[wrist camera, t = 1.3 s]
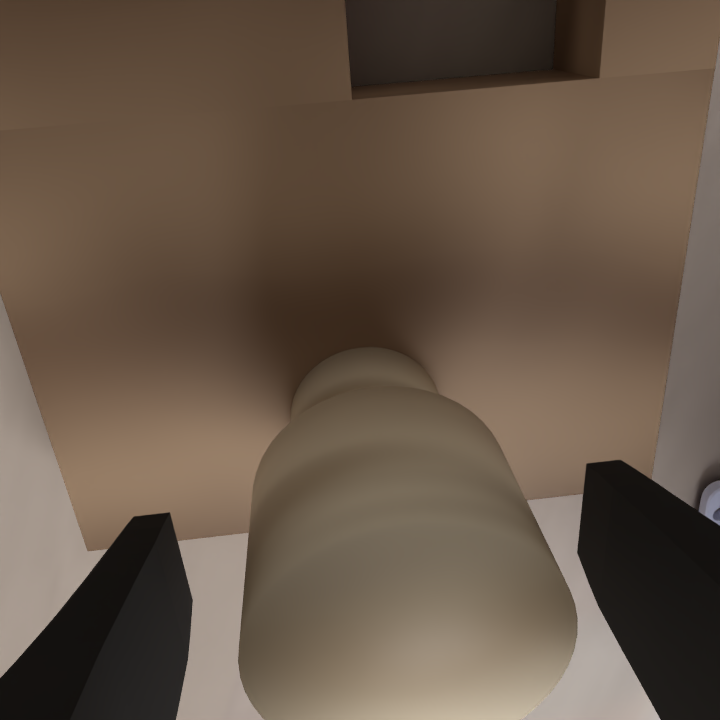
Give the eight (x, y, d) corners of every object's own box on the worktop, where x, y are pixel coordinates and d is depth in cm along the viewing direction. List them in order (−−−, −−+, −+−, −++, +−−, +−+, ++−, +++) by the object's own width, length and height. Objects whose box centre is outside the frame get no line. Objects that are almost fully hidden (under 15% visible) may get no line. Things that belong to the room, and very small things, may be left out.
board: (608, 431, 19) (745, 609, 13) (112, 487, 19) (30, 699, 13) (737, -690, 10) (1336, -1644, 4) (-232, -657, 9) (-1063, -1734, 4)
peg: (470, 487, 16) (566, 740, 11) (274, 509, 16) (263, 780, 10) (471, 306, 14) (591, 501, 9) (244, 329, 14) (210, 545, 8)
